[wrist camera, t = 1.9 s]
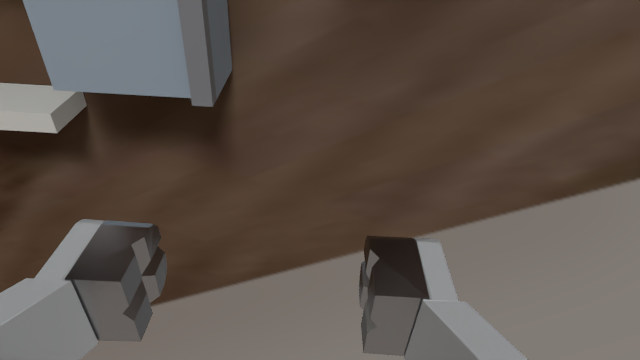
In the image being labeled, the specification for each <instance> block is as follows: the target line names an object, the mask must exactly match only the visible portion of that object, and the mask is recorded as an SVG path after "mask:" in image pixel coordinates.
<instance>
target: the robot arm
mask: <svg viewBox="0 0 640 360" xmlns="http://www.w3.org/2000/svg"><path fill="white" fill-rule="evenodd" d="M160 239H161V235H160V232H159V228H158V226H156V225H154V224H146V223H133V222H121V221H108V220H107V221H101V220H89V219H82V220H80V221H79V222H77V223H76V224H75V225H74V226H73V228H72V229H71V230H70V232H69V233H68V234H67V236H66V237H65V238H64V240H63V241H62V242H61V244H60V245H59V246H58V248H57V249H56V250H55V252H54V253H53V254H52V256H51V257H50V258H49V260H48V261H47V262H46V264H45V265H44V266H43V268H42V269H41V270H40V272H39V273H38V274H37V276H36V277H35V278H34V279H29V278H26V279H24V280H23V281H21V282H19V283H17V284H16V285H14V286H12V287H10V288H9V289H7V290H5V291H3V292H2V293H0V360H80V359H81V358H82V357H83V356H84V355H86V354H87V353H88V352H89V351H90V350H91V349H92V348H93V347H94V346H96V345H97V344H98V340H103V341H141V340H142V337H143V335H144V333H145V330H146V328H147V326H148V323H149V321H150V318H151V316H152V314H153V313H152V309H151V306H150V303H151V302H152V301H153V300H155V299H156V298H157V297H159V296H160V294H161V291H162V289H163V286H164V283H165V278H166V272H167V261H166V256H165V252H163V251H162V250H161V249H160V248H159V247H158V244H159V241H160ZM364 255H365V261H364V262H363V263H362V264H361V271H360V282H359V298H360V307H361V308H362V309H363V310H364V311H363V317H362V323H361V328H362V341H363V352H364V353H374V354H386V355H399V356H405V357H404V358H405V360H528V359H527V358H526V357H525V356H524V355H523V354H522V353H521V352H519V351H518V349H516V348H515V347H514V346H513V345H512V344H511V343H510V342H509V341H508V340H507V339H506V338H505V337H504V336H502V335H501V334H500V333H499V332H498V331H497V330H496V329H495V328H494V327H493V326H492V325H491V324H490V323H488V322H487V321H486V320H485V319H484V318H483V317H482V316H481V315H480V314H479V313H478V312H477V311H476V310H474V308H472V307H471V306H470V305H469V304H468V303H467V302H462V301H459V300H458V297H457V294H456V290H455V287H454V284H453V281H452V278H451V275H450V271H449V268H448V265H447V262H446V258H445V255H444V252H443V249H442V246H441V242H440V241H439V240H438V239H431V238H405V237H384V236H367V237H366V240H365V246H364Z"/></svg>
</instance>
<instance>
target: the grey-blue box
mask: <svg viewBox="0 0 640 360" xmlns="http://www.w3.org/2000/svg"><path fill="white" fill-rule="evenodd" d="M23 3H24V6H25V8H26V11H27V14H28V17H29V20H30V23H31V26H32V29H33V31H34V34H35V37H36V40H37V43H38V46H39V49H40V52H41V54H42V57H43V60H44V63H45V66H46V69H47V72H48V74H49V77H50V80H51V83H52V86H53V89H54V90H58V91H76V92H93V93H110V94H128V95H145V96H162V97H179V98H191V101H192V106H207V107H213V106H214V104H215V102H216V100H217V98H218V96H219V94H220V92H221V90H222V88H223V86H224V85H225V83H226V81H227V79H228V77H229V75H230V73H231V71H232V60H231V47H230V33H229V20H228V6H227V0H23Z"/></svg>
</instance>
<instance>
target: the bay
mask: <svg viewBox="0 0 640 360" xmlns="http://www.w3.org/2000/svg"><path fill="white" fill-rule="evenodd" d="M86 106H87V104H86V101H85V98H84V94H83V92H76V91H58V90H54V89H53V86H45V85H28V84H10V83H0V130H11V131H29V132H47V133H58V132H59V131H60V130H61V129H62V128H63V127H64V126H65V125H66V124H68V123H69V122H70V121H71V120H72V119H73V118H74V117H75V116H76V115H77V114H78V113H79V112H80V111H82V110H83V109H84V108H85V107H86Z"/></svg>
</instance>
